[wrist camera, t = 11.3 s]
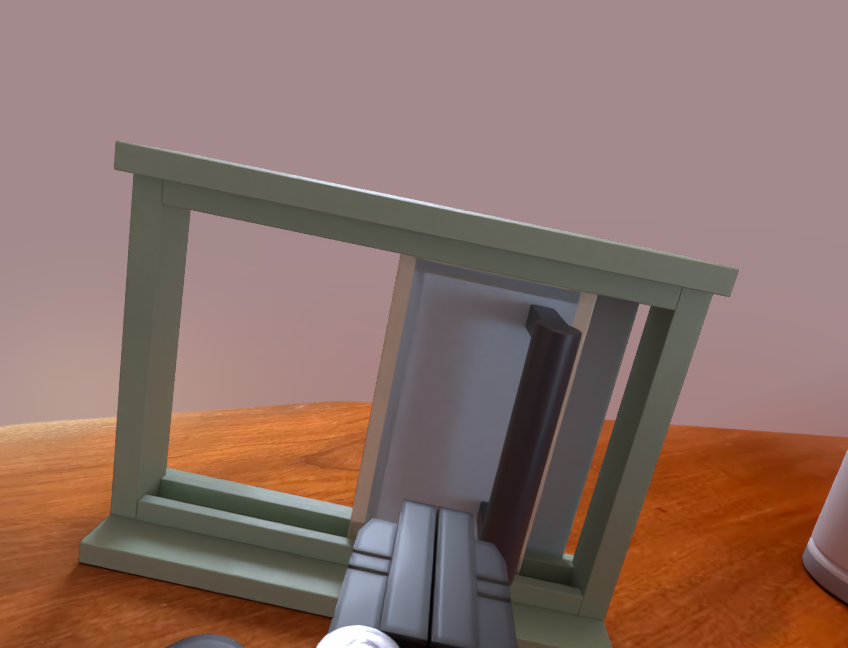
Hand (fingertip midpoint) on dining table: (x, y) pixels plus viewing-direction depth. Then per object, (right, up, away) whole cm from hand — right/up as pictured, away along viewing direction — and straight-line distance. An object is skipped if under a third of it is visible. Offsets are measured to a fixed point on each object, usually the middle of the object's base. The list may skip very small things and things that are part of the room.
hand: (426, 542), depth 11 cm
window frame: (-3, -7, +14) cm, 16 cm away
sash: (0, -7, +11) cm, 13 cm away
